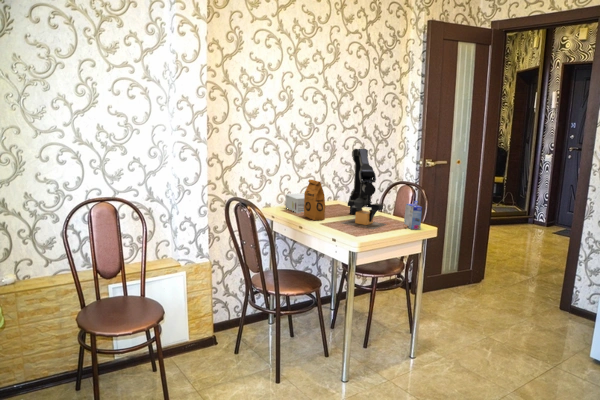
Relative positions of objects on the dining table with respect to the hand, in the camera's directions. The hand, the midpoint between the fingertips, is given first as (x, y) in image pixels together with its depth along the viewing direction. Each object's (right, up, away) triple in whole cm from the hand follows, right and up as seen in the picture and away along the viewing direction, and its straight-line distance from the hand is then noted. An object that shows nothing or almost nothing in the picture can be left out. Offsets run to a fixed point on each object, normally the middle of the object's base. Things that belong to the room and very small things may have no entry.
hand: (364, 220), depth 240 cm
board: (0, -3, 0) cm, 3 cm away
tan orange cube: (0, -1, 0) cm, 1 cm away
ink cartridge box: (+26, -4, 0) cm, 26 cm away
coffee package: (-26, 0, +15) cm, 30 cm away
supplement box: (-35, +4, +39) cm, 52 cm away
